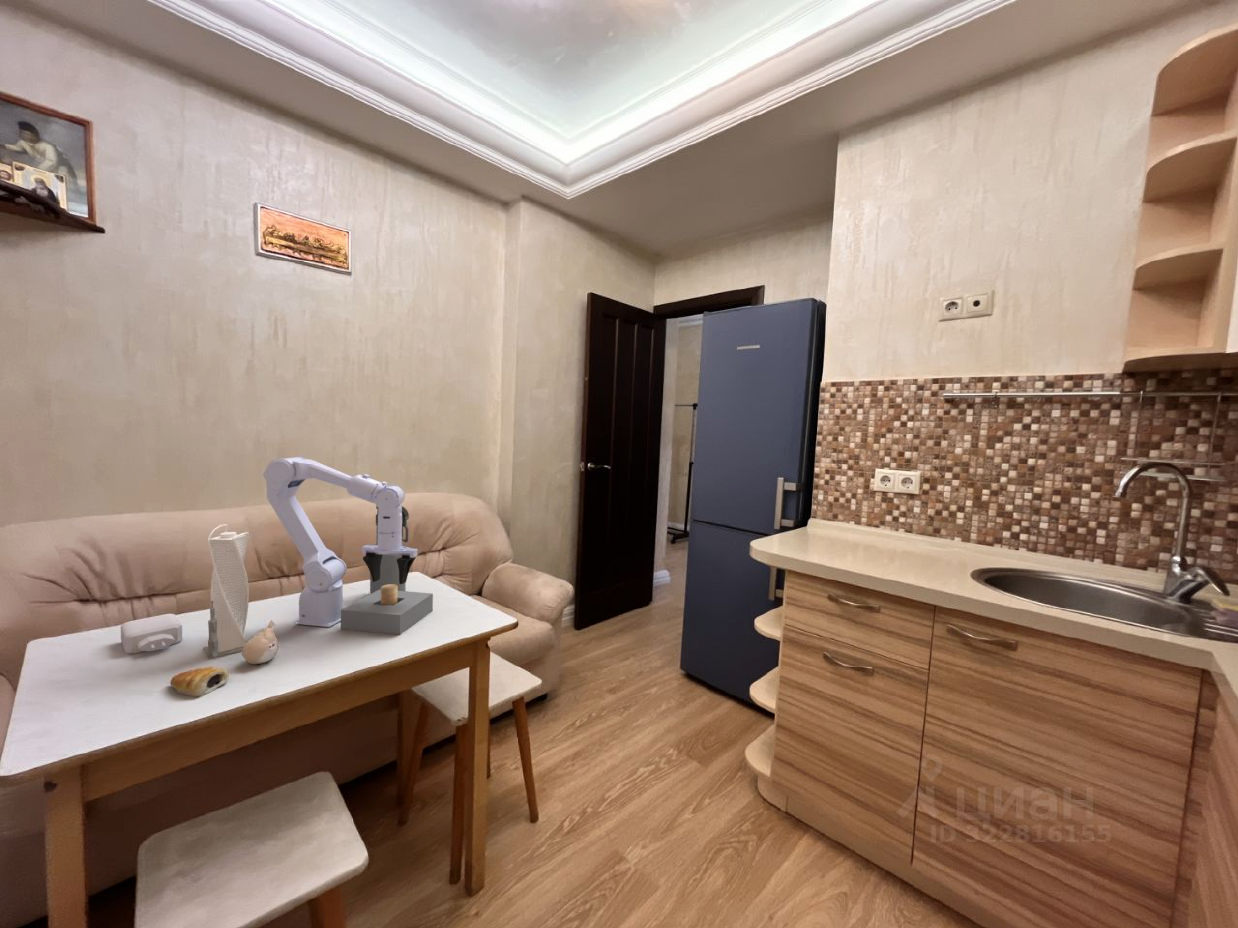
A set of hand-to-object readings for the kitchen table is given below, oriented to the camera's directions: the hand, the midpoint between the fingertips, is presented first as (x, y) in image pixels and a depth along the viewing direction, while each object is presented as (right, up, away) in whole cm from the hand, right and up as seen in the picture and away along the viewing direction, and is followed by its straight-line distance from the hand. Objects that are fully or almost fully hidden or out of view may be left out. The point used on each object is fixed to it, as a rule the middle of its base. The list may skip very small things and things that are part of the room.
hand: (389, 581), depth 126 cm
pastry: (-20, -12, -34) cm, 42 cm away
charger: (-44, -10, -19) cm, 49 cm away
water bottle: (-9, -9, +19) cm, 23 cm away
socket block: (0, -10, +1) cm, 10 cm away
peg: (0, -10, +1) cm, 10 cm away
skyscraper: (-28, -11, -18) cm, 35 cm away
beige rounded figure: (-16, -12, -24) cm, 31 cm away
